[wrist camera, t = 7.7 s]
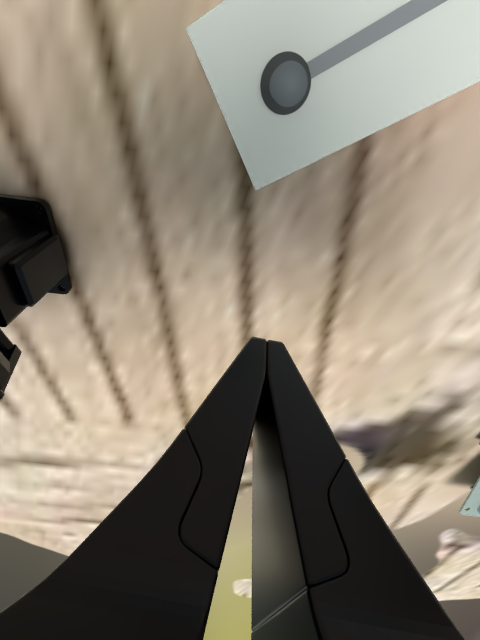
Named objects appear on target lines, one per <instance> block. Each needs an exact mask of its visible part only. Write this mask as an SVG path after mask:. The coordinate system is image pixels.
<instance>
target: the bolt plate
mask: <svg viewBox="0 0 480 640" xmlns="http://www.w3.org/2000/svg"><path fill="white" fill-rule="evenodd" d="M186 30H187V33H188V35H189V37H190V40H191V42H192V44H193V47H194V49H195V51H196V53H197V56H198V58H199V60H200V63H201V65H202V67H203V70H204V72H205V74H206V77H207V79H208V81H209V84H210V86H211V88H212V91H213V93H214V95H215V98H216V100H217V102H218V105H219V107H220V109H221V111H222V114H223V116H224V118H225V121H226V123H227V125H228V128H229V130H230V132H231V135H232V137H233V139H234V142H235V144H236V146H237V149H238V151H239V153H240V156H241V158H242V160H243V162H244V165H245V167H246V169H247V172H248V174H249V176H250V179H251V181H252V183H253V186H254V188H255V190H258V189H260V188H262V187H265V186H267V185H269V184H271V183H273V182H275V181H277V180H279V179H281V178H283V177H285V176H287V175H289V174H291V173H293V172H295V171H297V170H299V169H301V168H303V167H305V166H308V165H310V164H312V163H314V162H316V161H318V160H320V159H322V158H324V157H326V156H328V155H330V154H332V153H334V152H336V151H338V150H340V149H342V148H344V147H346V146H348V145H350V144H353V143H355V142H357V141H359V140H361V139H363V138H365V137H367V136H369V135H371V134H373V133H375V132H377V131H379V130H381V129H383V128H385V127H387V126H389V125H391V124H393V123H396V122H398V121H400V120H402V119H404V118H406V117H408V116H410V115H412V114H414V113H416V112H418V111H420V110H422V109H424V108H426V107H428V106H430V105H432V104H434V103H436V102H438V101H441V100H443V99H445V98H447V97H449V96H451V95H453V94H455V93H457V92H459V91H461V90H463V89H465V88H467V87H469V86H471V85H473V84H475V83H477V82H479V81H480V0H224V1H223V2H221V3H220V4H218V5H217V6H216V7H214V8H213V9H212V10H210V11H209V12H207V13H206V14H205V15H203V16H202V17H200V18H199V19H198V20H196V21H195V22H194V23H192V24H191V25H189V26H188V27H187V28H186Z"/></svg>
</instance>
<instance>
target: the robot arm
mask: <svg viewBox="0 0 480 640" xmlns="http://www.w3.org/2000/svg"><path fill="white" fill-rule="evenodd" d="M37 206H39V207H40V208H41V209H42V211H40V210H39V209H38V207H37ZM61 286H63V287H64V288H63V287H61ZM70 290H71V284H70V280H69V276H68V268H67V265H66V261H65V257H64V254H63V250H62V246H61V243H60V239H59V238H58V236H57V232H56V229H55V225H54V221H53V218H52V214H51V211H50V208H49V205H48V204H47V203H46V202H45V201H43V200H40V199H34V198H26V197H18V196H10V195H2V194H0V327H6V326H7V325H8V324H9V323H10V322H11V321H13V320H14V319H15V318H16V317H17V316H18V315H19V314H20V313H21V312H22V311H23V310H24V309H25V308H26V307H27V306H29V307H32V306H34V305H35V304H36V303H37V302H38V301H39V300H40V299H41V298H42V297H43V296H44V295H45V294H46V293H47V292H48V293H57V294H67V293H68V292H69V291H70ZM20 355H21V351H20V349H19V348H18V347H17V346H16V345H13V344H12V342H11V341H10V340H9V339H8V338H7V336H6V335H5V334H4V333H3V331H2V330H1V329H0V402H1V401H2V399H3V396H4V391H5V388H6V386H7V384H8V382H9V379H10V377H11V375H12V373H13V370H14V368H15V366H16V364H17V361H18V359H19V357H20ZM252 432H253V489H252V496H253V497H252V631H253V632H252V633H251V640H466V639H465V637H464V636H463V635H462V634H461V632H460V631H459V630H458V629H457V627H456V626H455V624H454V623H453V622H452V620H451V619H450V617H449V616H448V615H447V613H446V612H445V610H444V609H443V607H442V606H441V604H440V603H439V601H438V600H437V598H436V597H435V595H434V594H433V592H432V591H431V589H430V588H429V586H428V585H427V584H426V582H425V581H424V579H423V578H422V576H421V575H420V573H419V572H418V570H417V569H416V567H415V566H414V565H413V563H412V561H411V560H410V558H409V557H408V555H407V554H406V552H405V551H404V550H403V548H402V547H401V545H400V544H399V542H398V541H397V539H396V538H395V536H394V535H393V533H392V532H391V530H390V529H389V527H388V526H387V524H386V522H385V521H384V519H383V518H382V516H381V515H380V513H379V512H378V510H377V509H376V507H375V505H374V504H373V502H372V501H371V499H370V497H369V496H368V494H367V492H366V490H365V489H364V487H363V485H362V484H361V482H360V480H359V479H358V477H357V475H356V473H355V471H354V470H353V468H352V466H351V464H350V462H349V461H348V460H347V459H345V458H346V455H345V454H344V452H343V450H342V449H341V446H340V445H339V443H338V441H337V439H336V437H335V436H334V434H333V432H332V430H331V428H330V427H329V425H328V423H327V421H326V419H325V418H324V416H323V414H322V412H321V410H320V409H319V407H318V405H317V403H316V401H315V400H314V398H313V396H312V394H311V392H310V391H309V389H308V387H307V385H306V383H305V382H304V380H303V378H302V376H301V374H300V373H299V371H298V369H297V367H296V365H295V364H294V362H293V360H292V358H291V356H290V355H289V353H288V351H287V349H286V347H285V345H284V344H283V343H282V342H278V341H273V340H268V341H266V340H265V339H262V338H257V337H251V338H250V339H249V341H248V342H247V343H246V345H245V346H244V347H243V349H242V350H241V352H240V353H239V354H238V356H237V357H236V358H235V360H234V361H233V362H232V364H231V365H230V366H229V368H228V369H227V370H226V372H225V373H224V374H223V376H222V377H221V378H220V380H219V381H218V383H217V384H216V385H215V387H214V388H213V389H212V391H211V392H210V393H209V395H208V396H207V397H206V399H205V400H204V401H203V403H202V404H201V405H200V407H199V408H198V410H197V411H196V412H195V414H194V415H193V416H192V418H191V419H190V420H189V422H188V423H187V424H186V426H185V429H183V430H182V431H181V432H180V433H179V435H178V436H177V438H176V439H175V440H174V442H173V443H172V444H171V445H170V447H169V448H168V449H167V450H166V452H165V453H164V454H163V455H162V457H161V458H160V459H159V461H158V462H157V463H156V464H155V465H154V466H153V468H152V469H151V470H150V471H149V472H148V473H147V474H146V475H145V476H144V478H143V479H142V480H141V481H140V482H139V483H138V484H137V485H136V486H135V488H134V489H133V490H132V491H131V492H130V493H129V494H128V495H127V496H126V497H125V498H124V499H123V500H122V501H121V502H120V503H119V504H118V506H117V507H116V508H115V509H114V510H113V511H112V512H111V513H110V514H109V515H108V516H107V517H106V518H105V519H104V520H103V521H102V522H101V523H100V525H99V526H98V527H97V528H96V529H95V530H94V531H93V532H92V533H91V534H90V535H89V536H88V537H87V538H86V539H85V540H84V541H83V542H82V544H81V545H80V546H79V547H78V548H77V549H76V550H75V551H74V552H73V553H72V554H71V555H70V556H69V557H68V558H67V559H66V560H65V561H63V562H62V563H61V564H60V565H59V566H58V567H57V568H56V569H55V570H54V571H53V572H52V573H50V574H49V575H48V576H47V577H46V578H45V579H44V580H43V581H41V582H40V583H39V584H37V585H36V586H35V587H34V588H33V589H31V590H30V591H29V592H28V593H26V594H25V595H23V596H22V597H21V598H19V599H18V600H17V601H15V602H14V603H12V604H11V605H10V606H8V607H7V608H6V609H4V610H3V611H1V612H0V640H203V637H204V633H205V628H206V624H207V619H208V615H209V611H210V606H211V602H212V598H213V593H214V589H215V585H216V580H217V577H218V571H219V568H220V563H221V560H222V555H223V552H224V548H225V543H226V539H227V535H228V531H229V527H230V523H231V519H232V514H233V510H234V506H235V502H236V498H237V494H238V490H239V485H240V481H241V477H242V473H243V469H244V465H245V461H246V456H247V452H248V448H249V444H250V440H251V436H252Z"/></svg>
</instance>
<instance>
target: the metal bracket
mask: <svg viewBox="0 0 480 640" xmlns="http://www.w3.org/2000/svg"><path fill="white" fill-rule="evenodd" d="M479 444H480V442H479ZM470 489H471V492H470V493H469V495H468V497H467V498H466V500H465V502H464V504H463V505H462V507H461V508H460V510H459V512H460V513H461V514H462V515H470V516H477V517H480V477H479V478H478V480H477V482H476V483H475V485H474V487H470ZM467 507H469V508H468V509H465V508H467Z"/></svg>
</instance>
